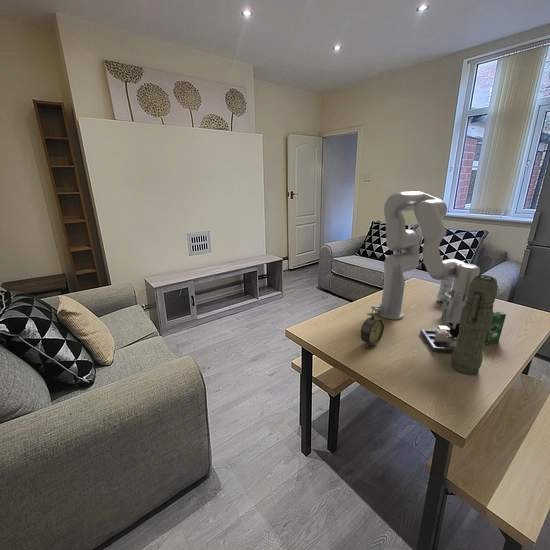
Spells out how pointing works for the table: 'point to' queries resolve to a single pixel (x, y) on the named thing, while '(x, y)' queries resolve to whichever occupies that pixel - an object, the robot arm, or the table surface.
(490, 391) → the table surface
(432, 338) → the panel
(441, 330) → the block
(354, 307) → the table surface
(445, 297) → the coffee cup
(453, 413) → the table surface
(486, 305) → the thermos
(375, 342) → the alarm clock
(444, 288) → the plastic bottle
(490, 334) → the coffee box
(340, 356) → the table surface
